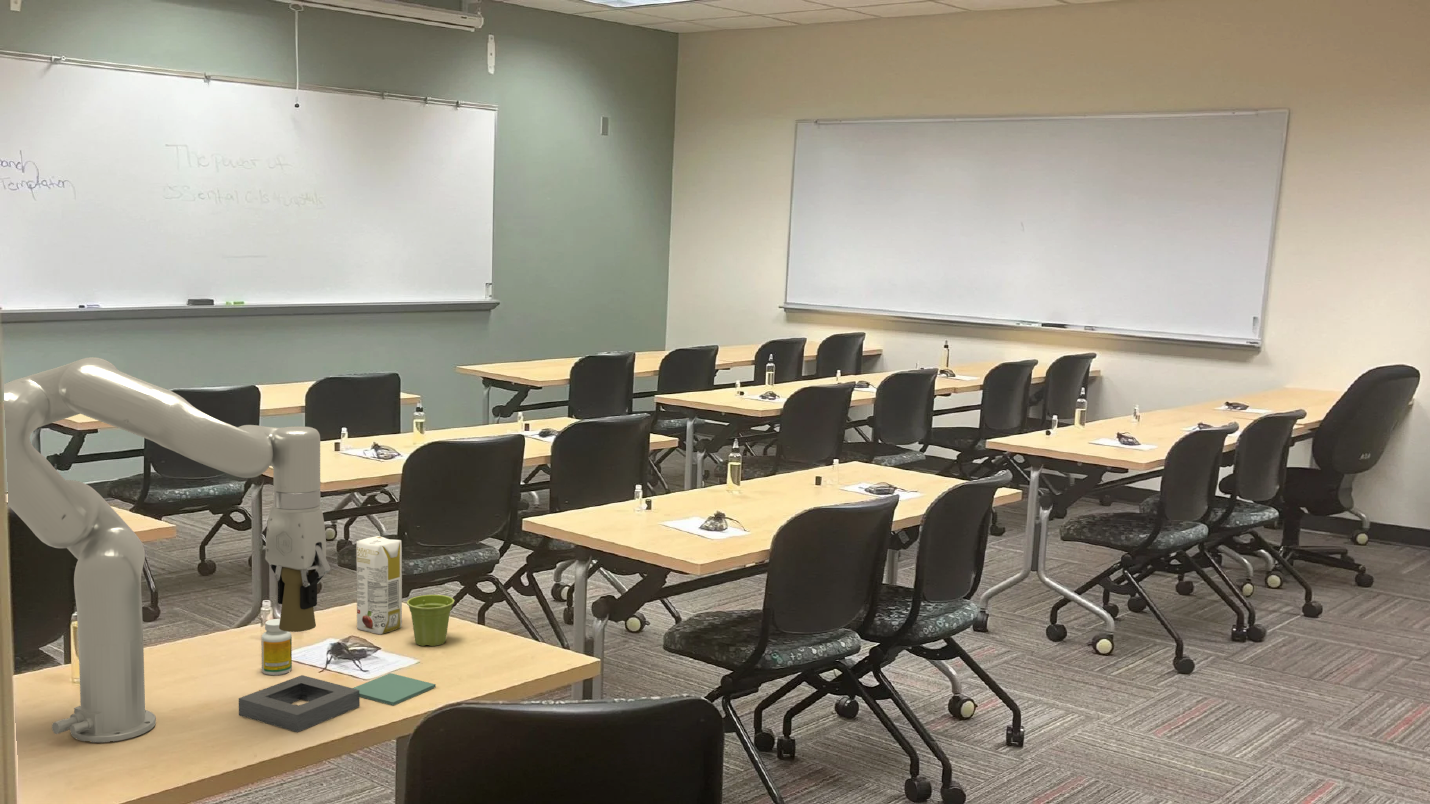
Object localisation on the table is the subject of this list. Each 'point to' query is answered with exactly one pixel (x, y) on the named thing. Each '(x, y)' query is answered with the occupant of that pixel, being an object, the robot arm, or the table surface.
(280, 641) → the supplement bottle
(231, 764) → the table surface
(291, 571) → the cork
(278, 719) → the socket block
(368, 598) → the juice carton
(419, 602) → the plant pot
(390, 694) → the rubber mat
